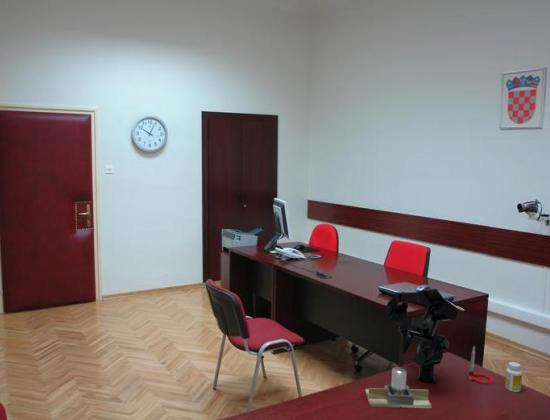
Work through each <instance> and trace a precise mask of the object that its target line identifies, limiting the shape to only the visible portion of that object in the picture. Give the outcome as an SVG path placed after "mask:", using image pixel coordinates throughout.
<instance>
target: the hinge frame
mask: <svg viewBox="0 0 550 420" xmlns="http://www.w3.org/2000/svg"><path fill="white" fill-rule="evenodd" d="M364 390H365V391H364V392H365V394H366V398H367V400H368V403H369V407H370V408H373V407H374V408H400V407H401V408H402V409H403V408H406V409H407V408H408V409H410V408H411V409H432V404H431V403H430V400H429V389H424V388H423V389H420V388H419V389H417V388H414V389H413V388H410V387H409V386H408V385H407V384H406V395H391V384H384V385H383V388H381V387H379V388H378V387H368V388H365V389H364Z"/></svg>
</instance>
